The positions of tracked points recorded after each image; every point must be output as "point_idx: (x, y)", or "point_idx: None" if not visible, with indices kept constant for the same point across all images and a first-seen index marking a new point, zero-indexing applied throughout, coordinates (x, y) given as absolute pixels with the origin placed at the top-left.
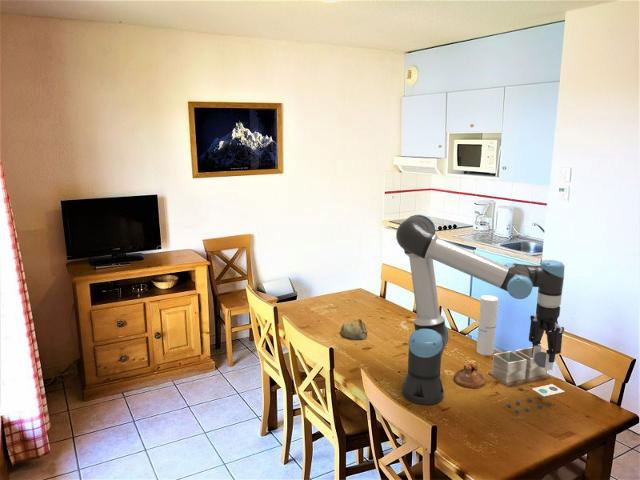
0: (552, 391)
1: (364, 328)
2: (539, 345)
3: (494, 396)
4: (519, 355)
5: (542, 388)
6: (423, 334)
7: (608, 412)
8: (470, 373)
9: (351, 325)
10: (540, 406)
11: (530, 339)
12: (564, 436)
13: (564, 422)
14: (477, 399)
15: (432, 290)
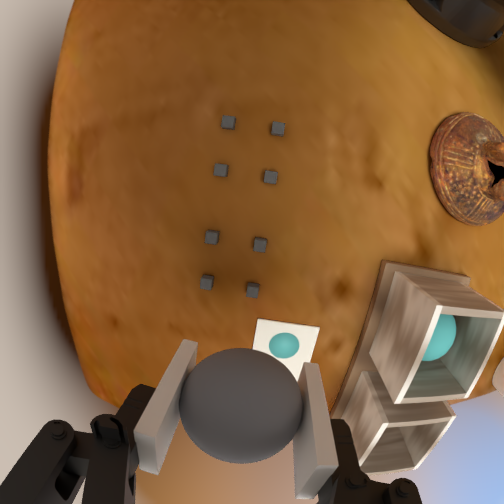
0: None
1: None
2: (308, 493)
3: (361, 148)
4: (434, 409)
5: (297, 358)
6: None
7: (114, 381)
8: (486, 153)
9: None
10: (206, 235)
11: (398, 497)
12: (72, 161)
13: (112, 228)
14: (372, 77)
15: None
